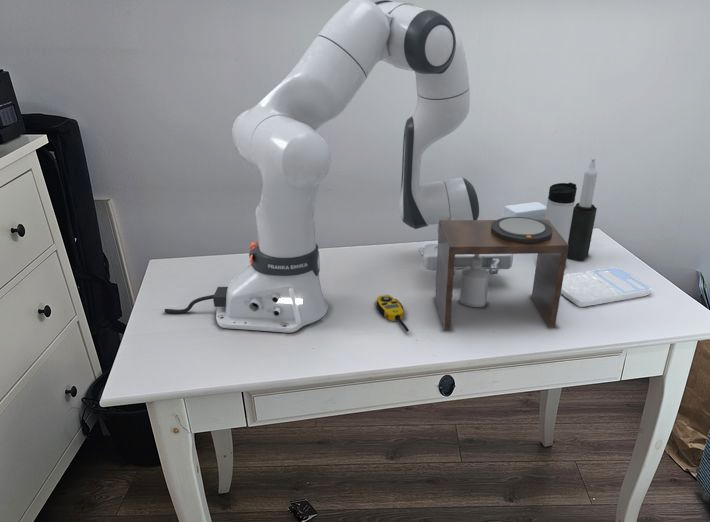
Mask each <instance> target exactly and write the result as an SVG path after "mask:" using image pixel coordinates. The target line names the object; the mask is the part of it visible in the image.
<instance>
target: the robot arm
mask: <svg viewBox="0 0 710 522" xmlns="http://www.w3.org/2000/svg"><path fill="white" fill-rule="evenodd" d="M380 61H383V62H384V63H386V64H389V65H391V66H393V67H394V68H397V69H401V70H405V71H410V72H414V74H415V85H416V96H417V99H416V106H415V108H414V111H413V114H412V115H411V116H410V117H409V118H407V119H406V121H405V124H404V129H403V141H402V158H401V159H402V160H401V161H402V162H401V181H400V183H401V184H400V194H399V198H398V213H399V217H400V218H401V221H402V222H403V223H404V224H405V225H406V226H408V227H409V228H412V229H414V230H418V229H422V228H425V227H429V226H432V225H437V233H438V232H439V220H479V216H480V203H479V198H478V194H477V191H476V189H475V186H474V185H473V184H472V183H471V182H470V180H468V179H467V178H466V177H463V176H462V177H456V178H449V179H443V180H440V181H434V182H428V183H421V182H420V180H421V164H422V157H423V154H424V153H425V152H426V150H427V149H428V148H429V147H430V146H432V145H433V144H435V143H436V142H437V141H439V140H441V139H443V138H444V137H446V136H448V135H451V134H452V133H453V132H455V131H456V130H457V129H458V128H459V127H460V126H462V124H463V123H464V122H465V120H466V118H467V117H468V115H469V112H470V103H471V98H470V97H471V91H470V78H469V70H468V63H467V58H466V53H465V49H464V46H463V42H462V39H460V37H459V36H458V35H457V34H456V33H455V30H454V26H453V25H452V23H451V22H450V20H449V19H448V18H447V17H446V16H444V15H443V14H441V13H440V12H438V11H436V10H433V9H426V8H424V7H421V6H418V5H415V4H413V3H409V2H404V1H403V2H402V1H392V0H377V1H372V0H348V1H347V2H346V3H344V4H343V6H341V7H340V8H339V9H338V10H337V11H336V12H335V13H334V14H333V15H332V16H331V17H330V18H329V19H328V21H327V22H326V23H325V25H324V26H323V27H322V28H321V30H320V31H319V32H318V34H317V35H316V37H314V39H313V41H311V43H310V45H309V46H308V47H307V49H306V51H305V52H304V53H303V55H302V56H301V57H300V59H298V62H297V63H296V64H295V66H294V67H293V69H292V70H291V71H290V72H289V73H288V74H287V76H286V77H284V78H283V80H281V82H279V83H278V84H277V85H276V86H275V87H274V88H273V89H272V90H271V91H270V92H269V93H267V94H266V95H265V96H264V97H263V98H262V99H261V100H260V101H259V102H258V103H257V104H255V105H254V106H253V107H251V108H249V109H247V110H245V111H243V112H241V113H240V114H239V115H238V116H237V117H236V119H235V120H234V122H233V125H232V128H231V140H232V144H233V146H234V148H235V150H236V152H237V153H238V154H239V156H240V157H241V158H242V159H243V161H245V163H246V164H248V165H249V166H251V167H252V168H253V169H256V170H258V171H259V172H260V176H261V178H262V187H261V195H260V201H259V203H258V204H257V205H256V207H255V212H254V215H255V223H256V234H257V241H251V243H250V244H249V247H248V250H249V253H248V257H249V265H248V266H247V267H245V268H244V269H243V270H241V271H240V272H239V273H237V274H236V275H234V277H233V278H232V279H231V281H230V282H229V284H228V286H217V288H216V290H215V292H214V293H213V294H209V295H205V296H201V297H198V298H195V299H193V300H192V301H191V302H190V303H189V304H188V305H187V306H186V308H182V309H173V308H164V313H167V314H185V313H187V312H189V311H191V309H192V308H193V307H194V305H196V304H198V303H200V302H203V301H207V300H213V304H214V305H213V307H214V308H216V312H215V320H216V323H217V325H218V326H219V327H220V328H223V329H231V330H246V331H247V330H248V331H262V332H276V333H290V334H291V333H295V332H297V331H298V330H301V328H303V327H305V326H307V325H311V324H313V323H316V322H318V321H319V320H321V319H322V318H323V317H325V315H326V314H327V312H328V309H329V307H328V304H327V301H326V299H325V297H324V292H323V288H322V284H321V283H322V282H321V279H320V278H321V277H320V272H321V262H320V261H321V259H320V250H319V245H318V244H317V239H316V238H317V237H316V220H315V219H316V218H315V213H316V212H315V209H316V208H315V207H316V200H317V194H318V190H319V186H320V184H321V183H322V182H323V181H324V180H325V179H326V177H327V176H328V174H329V172H330V170H331V165H332V153H331V149H330V147H329V145H328V143H327V142H326V140H325V139H324V138H323V137H322V136H321V135H320V134H319V133H318V132H317V130H319V128H321V127H322V126H323V125H325V124H326V123H327V122H329V121H331V120H334V119H336V118H338V117H339V116H340V115H342V114H343V113H344V111H345V110H346V109H347V107H348V106H349V104H350V103H351V102H352V100H353V99H354V97H355V96H356V95H357V93H358V91H360V89H361V87H362V86H363V84H364V83H365V82H366V80H367V79H368V77H369V76H370V74H371V73H372V71H373V70H374V68H375V66H376V65H377V64H378V63H379V62H380ZM418 252H419V255H420V256H422V267H423V269H424V270H426V271H437V252H438V243H428V244H425V246H423V247H420V248H419V249H418ZM472 256H475V254H463V255H455V263H454V276H455V274H456V273H455V272H456V271H463V270H464V268H466V267H469V266H470V264H471V257H472ZM479 256H480V257H482V268H484V269H485V270H489V271H488V273H489V275H491V276H492V275H493V276H496V275H498V274H499V270H510V269H511V268H512V267H513V260H514V254H479Z"/></svg>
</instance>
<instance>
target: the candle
mask: <svg viewBox="0 0 710 522" xmlns="http://www.w3.org/2000/svg"><path fill="white" fill-rule="evenodd" d="M595 161H596V158H595V157H592V158H591V161H590V163H589V166H588V167H587V168H586V169H585V171H584V174H583V179H582V187H581V192H580V197H579V202H577V203H575V205H574V209H573V215H572V221H571V227H570V233H569V239H568V245H569V248H568V253H567V259H570V260H574V261H577V262H583V261H585V259H586V258H588V257H589V253H590V246H591V242H592V236H593V231H594V225H595V221H596V216H597V209H598V207H596V206H595V205H594V204H593V199H594V194H595V189H596V182H597V177H598V171H597V169H596V162H595Z"/></svg>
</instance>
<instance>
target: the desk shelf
mask: <svg viewBox="0 0 710 522" xmlns="http://www.w3.org/2000/svg"><path fill="white" fill-rule="evenodd" d="M496 220H497V219H477V220H439V232H438V231H437V244H438V252H437V270H436V275H435V293H434V294H435V295H434V300H435V304H436V307H437V311H438V314H439V317H440V320H441V324H442V328H443V331H446V332H447V331H451V321H452V320H451V319H452V308H453V307H452V304H453V290H454V276H455V275H454V263H455V255H463V254H513V255H517V254H518V255H519V254H521V255H522V254H523V255H524V254H525V255H527V254H528V255H529V254H530V255H531V254H536V255H537V256H536V263H535V271H534V278H533V284H532V290H531V291H532V292H531V298H532V300H533V302H534V304H535V305H536V307H537V308H538V310H539V312H540V314H541V315H542V318H543V319H544V321H545V323H546V324H547V326H548V327H549V328H550V329H552V328H556V323H557V317H558V311H559V305H560V300H561V295H562V294H561V289H562V283H563V277H564V275H565V271H566V265H567V259H568V258H567V253H568V248H569V245H568V244H567V242H566V241H565V240H564V239H563V238H562V236H561V235H560V234H559V233H558V231H557V230H556V229H555V228H554V226H553V225H552V224H551V223H550V221H549V220H539V221H542V222H545V223H547V224H548V225H550V226H551V227H552V230H553V232H552V237H551V238H550V239H549V240H547V241H544V242H540V243H532V244H524V243H515V242H510V241H506V240H503V239H500V238H498V237H496V236H495V235H494V234H493V233H492V232H491V225H492V223H493V222H494V221H496Z"/></svg>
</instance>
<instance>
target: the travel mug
mask: <svg viewBox="0 0 710 522" xmlns="http://www.w3.org/2000/svg"><path fill="white" fill-rule="evenodd" d="M577 189H578V187H577V184H576V183H573V182H571V181H569V182H568V183H567V182H558V183H554V184H552V185H550V186H549V189H548V197H547V200H546V201H547V202H546V206H547V208H546V215H545V220H549V221H550V223H551V224H552V225H553V226H554V228H555V229H556V230H557V231H558V233H559V234H560V235H561V236H562V238H563V239H564V240H565V241H566V242H567V244H568V239H569V233H570V227H571V221H572V215H573V209H574V207H575V204H576V196H577V195H576V194H577Z"/></svg>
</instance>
